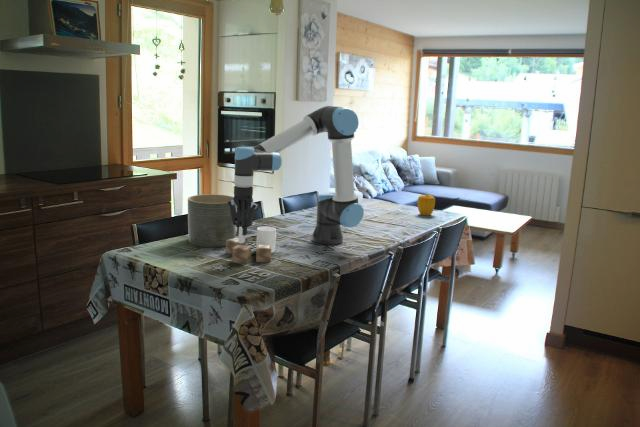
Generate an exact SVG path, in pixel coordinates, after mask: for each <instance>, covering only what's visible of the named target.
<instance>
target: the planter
mask: <svg viewBox="0 0 640 427" xmlns="http://www.w3.org/2000/svg"><path fill="white" fill-rule="evenodd" d="M233 198H234V196H233V195H227V194H215V193H214V194H212V193H211V194H210V193H209V194H196V195H191V196H188V198H187V226H188V227H187V228H188V229H187V231H188V243H189V244H191V245H193V246H197V247H202V248H221V247H226V240H229V239H233V238H237V237H236V234H237V226H236V225H233V221H232V216H231V210H230V206H229V204H228V201H231V200H233ZM235 206H236V204H235ZM236 212H237V206H236Z"/></svg>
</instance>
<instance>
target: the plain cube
mask: <svg viewBox="0 0 640 427" xmlns="http://www.w3.org/2000/svg"><path fill="white" fill-rule="evenodd" d="M250 261H252V245H246V246H245V245H237V246H235V247H234V248H233V255H232V263H236V264H244V265H247V264H248V263H249V262H250Z"/></svg>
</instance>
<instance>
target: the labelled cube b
mask: <svg viewBox="0 0 640 427" xmlns="http://www.w3.org/2000/svg"><path fill="white" fill-rule="evenodd" d="M256 245H257V244H256ZM255 250H256V254H255V257H256V258H255V262H256V263H271V261H272V253H271V245H257V249H255Z"/></svg>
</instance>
